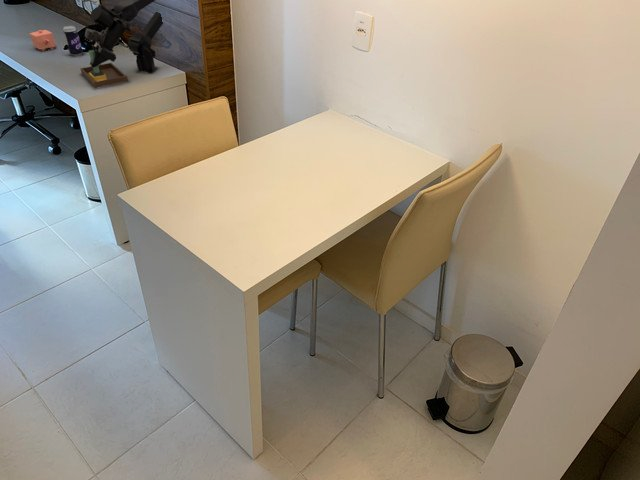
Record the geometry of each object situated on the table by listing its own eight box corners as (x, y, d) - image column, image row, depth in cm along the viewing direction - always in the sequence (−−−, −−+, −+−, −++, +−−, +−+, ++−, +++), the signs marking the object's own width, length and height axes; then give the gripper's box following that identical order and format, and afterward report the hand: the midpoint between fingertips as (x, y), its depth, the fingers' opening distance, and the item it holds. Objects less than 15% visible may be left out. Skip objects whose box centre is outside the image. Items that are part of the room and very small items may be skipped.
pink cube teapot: (43, 53, 228) (37, 35, 222) (32, 47, 234) (26, 29, 229) (60, 49, 232) (54, 31, 227) (49, 43, 238) (43, 26, 233)
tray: (81, 74, 208) (80, 68, 207) (112, 68, 215) (111, 62, 213) (95, 88, 197) (93, 82, 195) (127, 82, 203) (126, 76, 201)
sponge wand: (102, 76, 205) (95, 47, 197) (107, 80, 202) (100, 52, 194) (90, 78, 203) (82, 49, 195) (95, 83, 199) (87, 54, 192)
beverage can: (74, 57, 225) (66, 30, 217) (67, 54, 227) (59, 27, 220) (85, 54, 228) (78, 27, 221) (79, 51, 231) (71, 24, 223)
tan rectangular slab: (106, 81, 202) (105, 78, 201) (108, 82, 200) (108, 80, 199) (96, 83, 200) (96, 80, 199) (99, 85, 198) (98, 82, 197)
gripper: (89, 15, 195) (68, 47, 198) (99, 26, 183) (77, 60, 186) (113, 32, 204) (93, 63, 206) (125, 45, 192) (103, 77, 194)
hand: (91, 65), depth 198 cm, fingers closed on sponge wand, 2 cm apart
